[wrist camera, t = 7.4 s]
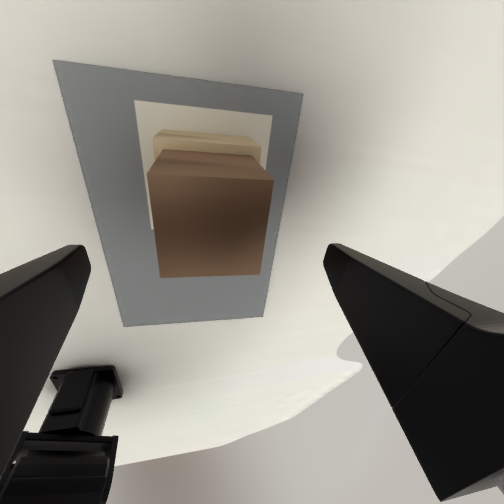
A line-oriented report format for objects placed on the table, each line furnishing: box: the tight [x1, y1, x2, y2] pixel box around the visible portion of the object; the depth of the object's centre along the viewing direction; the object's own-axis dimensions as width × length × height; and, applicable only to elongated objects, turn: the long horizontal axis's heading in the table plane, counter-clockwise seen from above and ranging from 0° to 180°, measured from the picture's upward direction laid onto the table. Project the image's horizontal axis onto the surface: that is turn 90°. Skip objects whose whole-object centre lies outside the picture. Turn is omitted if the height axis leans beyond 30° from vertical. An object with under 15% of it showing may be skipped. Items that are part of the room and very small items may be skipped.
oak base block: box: [152, 129, 262, 164], centre depth 17 cm, size 6×6×4 cm
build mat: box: [53, 60, 303, 327], centre depth 21 cm, size 22×15×1 cm
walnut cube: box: [147, 149, 274, 278], centre depth 13 cm, size 5×5×5 cm
